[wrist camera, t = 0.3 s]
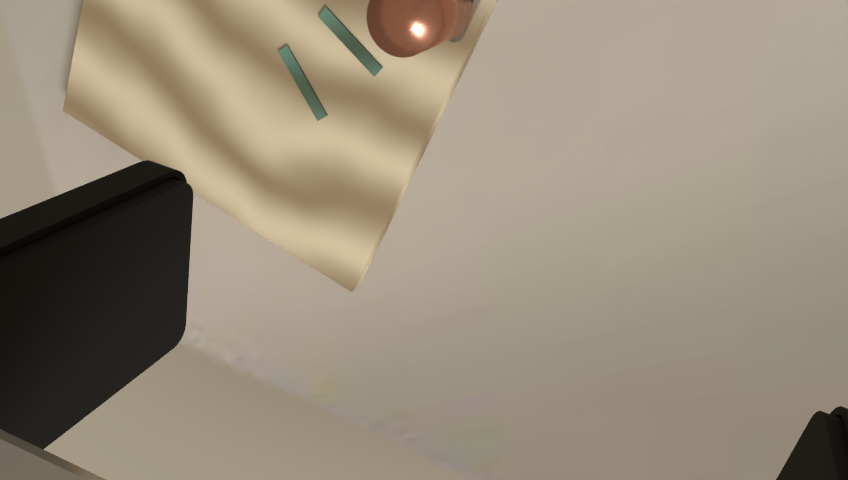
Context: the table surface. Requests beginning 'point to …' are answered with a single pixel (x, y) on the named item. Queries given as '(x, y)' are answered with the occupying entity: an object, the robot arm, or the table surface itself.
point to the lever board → (269, 111)
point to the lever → (417, 24)
